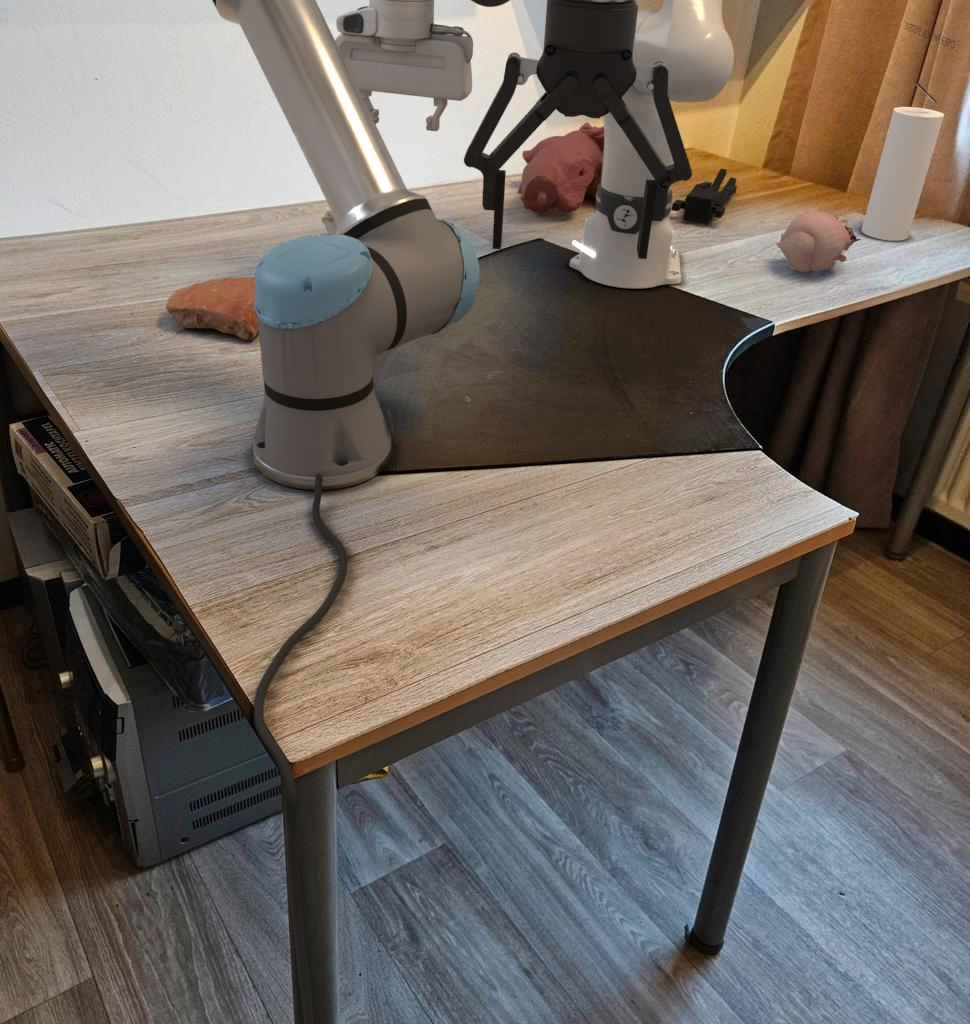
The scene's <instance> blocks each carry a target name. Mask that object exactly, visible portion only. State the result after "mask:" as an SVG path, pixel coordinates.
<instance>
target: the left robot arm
mask: <svg viewBox="0 0 970 1024" xmlns="http://www.w3.org/2000/svg"><path fill="white" fill-rule="evenodd" d="M211 1H212V3H213V5H214V7H215V9H216V11H217V13H218V15H219V16H220V17H221V18H222V19H223V20H225V21H227V22H230V23H233V24H237V25H239V26H240V28H241V30H242V32H243V34H244V37H245V38H246V41H247V42H248V44H249V47H250V48H251V50H252V52H253V54H254V56H255V59H256V60H257V63H258V65H259V66H260V69H261V71H262V73H263V75H264V77H265V78H266V79H265V80H266V81H267V83H268V85H269V87H270V89H271V91H272V93H273V95H274V97H275V99H276V101H277V103H278V106H279V107H280V110H281V111H282V113H283V115H284V117H285V119H286V122H287V124H288V125H289V127H290V129H291V131H292V133H293V136H294V137H295V139H296V142H297V144H298V146H299V147H300V150H301V151H302V154H303V156H304V158H305V160H306V162H307V164H308V165H309V168H310V170H311V172H312V174H313V176H314V178H315V180H316V182H317V183H318V187H319V188H320V191H321V192H322V194H323V197H324V198H325V201H326V202H327V205H328V206H329V208H330V211H332V212H333V214H334V217H335V219H336V221H337V223H338V229H337V232H336V234H328V233H321V234H320V235H317V236H313V235H304V236H300V237H295V238H293V239H290V240H287V241H285V242H282V243H280V244H278V245H276V246H275V247H273V248H271V249H269V251H267V253H265V254H264V255H263V256H262V257H261V259H260V260H259V261H258V264H257V267H256V270H255V274H254V275H255V276H254V278H255V300H254V307H255V311H256V314H257V317H258V328H259V332H258V337H259V348H260V357H261V358H260V359H261V369H262V379H263V388H264V390H263V391H264V396H263V400H262V404H261V408H260V412H259V415H258V419H257V423H256V427H255V430H254V434H253V439H252V455H253V460H254V464H255V467H256V468H257V470H258V471H259V472H260V473H261V474H262V475H263V476H265V477H266V478H268V479H269V480H271V481H273V482H275V483H278V484H280V485H283V486H286V487H290V488H295V489H301V490H312V491H313V492H314V493H313V501H312V508H311V515H312V519H313V523H314V525H315V526H316V528H317V530H318V531H319V532H320V533H321V534H322V535H323V537H324V538H325V539H327V541H329V543H330V544H332V546H333V547H334V548H335V550H336V552H337V555H338V562H339V563H338V564H339V565H338V571H337V576H336V578H335V581H334V583H333V584H332V587H331V589H330V591H329V592H328V593H327V595H326V597H325V599H324V600H323V602H322V604H321V605H320V607H318V609H317V610H316V611H315V612H314V614H312V615H311V616H310V617H309V618H308V619H307V620H306V621H305V622H304V623H303V624H302V625H300V627H298V628H297V629H296V630H295V631H294V632H293V633H292V634H291V635H290V636H289V637H288V638H287V640H286V641H285V642H284V644H282V646H281V647H280V649H279V650H278V652H277V653H276V655H275V656H274V658H273V659H272V661H271V662H270V664H269V665H268V667H267V669H266V670H265V672H264V674H263V676H262V678H261V680H260V682H259V684H258V687H257V690H256V693H255V697H254V703H253V722H254V727H255V729H256V732H257V734H258V737H259V738H260V740H261V741H262V742H263V744H264V745H265V747H266V748H267V750H268V751H269V753H270V754H271V755H272V757H273V759H274V760H275V762H276V763H277V767H278V769H279V771H280V774H281V777H282V781H283V785H284V789H285V795H286V799H287V801H288V802H295V801H296V800H297V799H298V792H297V791H298V790H297V786H296V782H295V777H294V773H293V770H292V767H291V765H290V762H289V760H288V758H287V755H286V754H285V752H284V751H283V749H282V748H281V746H280V745H279V744H278V742H277V741H276V740H275V738H274V737H273V736H272V734H271V733H270V731H269V729H268V728H267V724H266V721H265V716H264V707H265V701H266V695H267V692H268V689H269V687H270V685H271V682H272V681H273V679H274V677H275V675H277V674H276V673H277V672H278V671H279V669H280V668H281V665H282V664H283V662H284V661H285V659H286V658H287V656H288V654H289V653H290V652H291V650H292V649H293V648H294V646H295V645H296V644H297V643H298V642H299V641H300V640H301V639H302V638H303V637H304V636H305V635H306V634H307V633H309V631H310V630H311V629H313V627H315V626H316V624H318V623H319V622H320V621H321V620H322V619H323V618H324V616H326V614H327V613H328V611H329V610H330V609H331V607H332V606H333V604H334V603H335V601H336V599H337V597H338V595H339V593H340V592H341V590H342V588H343V585H344V583H345V580H346V578H347V577H346V576H347V570H348V556H347V552H346V548H345V546H344V545H343V543H342V542H341V541H340V540H339V538H337V537H336V536H335V534H333V532H332V531H330V529H328V528H327V526H326V525H325V523H324V521H323V520H322V517H321V513H320V509H321V503H322V502H321V501H322V492H323V490H327V491H328V490H337V489H342V488H348V487H351V486H355V485H358V484H361V483H363V482H366V481H368V480H370V479H373V478H374V477H375V476H377V475H378V474H380V473H381V472H382V471H383V470H384V469H385V468H386V467H387V466H388V464H389V463H390V461H391V458H392V437H391V432H392V433H394V422H393V417H392V415H391V411H390V408H389V406H387V418H388V422H389V425H390V429H391V432H390V430H389V427H388V424H387V422H386V419H385V417H384V413H383V411H382V408H381V406H380V403H379V400H378V398H377V395H376V393H375V385H374V358H375V356H378V355H381V354H383V353H385V352H388V351H391V350H394V349H395V348H398V347H400V346H403V345H406V344H407V343H411V342H413V341H415V340H418V339H420V338H422V337H425V336H427V335H435V334H439V333H440V332H441V331H443V330H444V329H447V328H448V327H449V326H451V325H453V324H456V323H457V322H459V321H460V320H462V319H463V318H464V317H465V316H467V314H468V313H469V311H470V310H471V309H472V307H473V306H474V304H475V301H476V298H477V295H478V294H477V289H478V287H480V274H481V273H480V264H479V263H480V262H479V258H478V255H477V251H476V248H475V246H474V244H473V241H472V240H471V238H470V237H469V235H468V234H467V232H466V231H465V230H464V229H463V228H462V227H461V226H460V225H455V223H454V222H453V221H450V220H447V219H439V218H437V217H436V215H435V213H434V211H433V208H432V207H431V204H430V203H429V201H428V199H427V197H426V196H425V195H422V194H419V193H416V192H414V191H411V190H409V189H408V188H407V186H406V185H405V181H404V180H403V179H402V176H401V174H400V172H399V170H398V168H397V165H396V163H395V162H394V160H393V157H392V155H391V153H390V152H389V149H388V147H387V145H386V143H385V141H384V139H383V137H382V134H381V132H380V131H379V129H378V127H377V123H376V124H375V122H374V120H373V118H372V116H371V114H370V112H369V110H368V108H367V106H366V104H365V102H364V99H363V97H362V95H361V93H360V91H359V89H358V87H357V85H356V83H355V81H354V79H353V77H352V75H351V73H350V71H349V68H348V66H347V64H346V62H345V60H344V58H343V56H342V54H341V52H340V50H339V48H338V46H337V44H336V42H335V40H336V39H335V37H334V35H333V33H332V32H331V30H330V27H329V25H328V23H327V21H326V19H325V17H324V15H323V13H322V10H321V9H320V6H319V4H318V3H317V0H211ZM638 9H639V5H638V4H637V1H636V0H546V11H545V25H544V39H543V49H542V50H543V51H542V53H541V56H540V58H539V59H534V58H529V57H523V56H521V55H520V54H519V53H518V52H511V53H509V55H508V56H507V59H506V62H505V67H504V73H503V80H502V83H501V84H500V86H499V88H498V90H497V92H496V94H495V95H494V98H493V100H492V101H491V104H490V105H489V107H488V109H487V111H486V113H485V115H484V117H483V119H482V120H481V123H479V124H480V125H479V126H478V127H477V130H476V132H475V134H474V136H473V137H472V140H471V141H470V143H469V145H468V147H467V149H466V150H465V154H464V157H463V164H464V165H465V166H466V167H467V168H473V169H475V170H478V171H479V172H480V173H481V174H482V179H483V181H482V201H481V203H482V204H481V205H482V207H483V210H484V211H493V227H492V228H493V229H492V250H501V248H502V244H503V243H502V242H503V228H504V212H505V211H504V210H505V194H506V193H505V192H506V176H507V175H506V173H507V171H506V169H502V167H503V166H504V165H505V164H506V163H507V162H508V161H509V160H510V158H511V157H512V156H513V155H514V154H515V153H516V152H517V151H518V150H519V149H520V148H521V147H522V146H523V145H524V143H525V142H526V141H527V140H528V139H530V137H531V136H532V134H534V132H535V131H536V130H537V129H538V128H539V127H540V126H541V125H542V124H543V123H544V122H545V121H546V120H547V119H548V118H550V116H551V115H552V114H553V113H554V112H555V111H556V112H558V113H560V114H561V115H563V117H566V118H568V117H569V118H575V117H579V116H583V117H587V118H590V119H599V120H600V119H601V118H602V116H605V115H607V114H608V113H609V112H610V113H611V114H612V116H613V117H614V119H615V120H616V122H617V123H618V125H619V126H620V127H621V129H622V130H623V132H624V133H625V135H626V136H627V138H628V139H629V141H630V142H631V144H632V145H633V147H634V148H635V150H636V151H637V153H638V155H639V156H640V158H641V159H642V161H643V162H644V164H645V165H646V167H647V168H648V170H649V171H650V173H651V174H652V176H653V177H654V179H655V181H654V180H649V179H646V184H645V191H644V198H643V206H642V213H641V220H640V228H639V235H638V243H637V254H638V259H647V252H648V245H649V238H650V231H651V224H652V221H662V220H663V218H664V216H665V210H666V204H667V197H668V190H669V187H670V186H671V187H672V185H673V184H675V183H678V182H681V181H683V182H686V181H689V180H690V179H691V178H692V176H693V170H692V167H691V164H690V161H689V157H688V155H687V151H686V148H685V146H684V145H685V144H684V142H683V138H682V136H681V132H680V129H679V126H678V123H677V120H676V117H675V113H674V111H673V107H672V104H671V101H670V100H669V98H668V70H667V68H666V66H665V64H664V63H663V62H661V61H658V62H655V63H654V64H653V65H644V66H635V65H634V63H633V48H634V39H635V31H636V22H637V14H638ZM533 75H535V76H536V77H537V79H538V81H539V83H540V84H541V86H542V88H543V90H544V93H543V94H542V95H541V96H540V97H539V99H537V101H536V102H535V104H534V105H533V106H532V107H531V108H530V109H529V110H528V112H527V113H525V115H524V116H523V117H522V119H520V121H518V123H517V124H516V125H515V126H514V127H513V129H511V130H510V132H509V133H508V134H507V135H506V136H505V137H504V138H503V139H502V140H501V142H500V143H499V144H498V145H497V146H496V147H495V148H494V149H493V150H492V152H491V153H489V154H487V153H485V152H484V151H485V149H486V147H487V145H488V143H489V141H490V140H491V137H492V136H493V134H494V132H495V130H496V128H497V126H498V125H499V123H500V121H501V119H502V117H503V116H504V114H505V111H506V110H507V108H508V107H509V104H510V102H511V100H512V98H513V97H514V94H515V92H516V89H517V87H518V86H523V85H525V84H527V82H528V80H529V78H530V77H531V76H533ZM635 80H637V81H640V82H641V83H642V84H643V88H644V90H645V91H646V92H647V93H652V96H653V100H654V103H655V106H656V109H657V112H658V115H659V119H660V122H661V125H662V128H663V131H664V134H665V137H666V140H667V143H668V146H669V149H670V152H671V155H672V158H673V162H674V164H672V165H669V166H665V165H664V163H663V162H662V160H661V158H660V157H659V155H658V154H657V152H656V151H655V149H654V148H653V146H652V145H651V143H650V141H649V140H648V138H647V137H646V135H645V134H644V132H643V131H642V129H641V127H640V126H639V124H638V123H637V121H636V120H635V118H634V117H633V115H632V114H631V112H630V110H629V108H628V107H627V105H626V104H625V102H624V100H623V99H622V97H623V96H624V94H625V93H626V92H627V91H628V90H629V88H630V87H631V86H632V85H633V83H634V82H635ZM286 832H287V833H286V852H287V853H286V854H287V867H288V869H287V870H288V881H289V893H290V894H289V895H290V905H291V917H292V928H293V937H294V945H295V955H296V965H297V972H298V980H299V988H300V989H299V990H300V997H301V1005H302V1013H303V1023H304V1024H315V1023H314V1014H313V1003H312V995H311V987H310V977H309V967H308V959H307V949H306V939H305V930H304V918H303V917H304V916H303V906H302V905H303V904H302V893H301V880H300V865H299V849H298V846H299V844H298V843H299V841H298V840H299V827H298V826H295V825H294V824H293V825H292V824H289V823H287V831H286Z"/></svg>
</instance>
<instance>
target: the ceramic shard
mask: <svg viewBox="0 0 970 1024" xmlns="http://www.w3.org/2000/svg"><path fill="white" fill-rule="evenodd" d="M254 300H255V277H221V278H217V279H216V278H215V279H211V280H206V281H204V282H198V283H194V284H191V285H188V286H186V287H182V288H180V289H177V290H176V291H175V292H174V293H173V294H171V295H170V296H169V298H168V299H167V302H166V304H165V308H166V311H167V312H168V313H169V314H170V315H172V317H174V319H175V321H176V323H177V324H178V325H179V327H181V328H183V329H213V330H217V331H219V332H221V333H223V334H230V335H233V336H237V337H238V338H240V339H242V340H246V341H251V340H252V341H253V339H255V338H256V336H257V334H259V328H258V317H257V314H256V311H255V307H254Z"/></svg>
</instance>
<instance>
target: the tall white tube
mask: <svg viewBox="0 0 970 1024" xmlns="http://www.w3.org/2000/svg"><path fill="white" fill-rule="evenodd" d="M904 30H905V31H907V32H910V33H912V32H913V34H915V33H916V34H917V35H918V36H921V37H923V38H924V37H925V39H928V40H930V41H931V40H932V41H933V42H937V40H938V44H939V43H940V44H942V45H943V46H946V47H947V48H948V47H949V49H950V48H951V49H952V50H953V49H954V48H955V45H956V40H954V39H951V38H948V37H946V36H942V37H941V34H938V35H937V33H934V32H933V31H931V30H926V29H923V34H921V31H922V27H920V26H918V25H915V24H912V23H909V22H908V21H907V22H905V26H904ZM927 33H928V35H927ZM940 37H941V38H940ZM940 39H941V42H940ZM945 39H946V40H945ZM944 42H945V43H944ZM952 43H954V44H953V46H952ZM913 84H914V85H915V86H916V87H917V88H919V90H920V91H921V92H922V95H923V96H924V97H926V98H928V99H929V100H930V101H931V102H932V103H934V104H937V103H938V101H937V100H936V99H935V98H934V97H932V95H931V94H930V93H929V92H928V91H927V90H926V89H925V88H924V87H923V86H922V85H921V84H920V83H919V82H918V81H915V80H914V82H913ZM944 117H945V114H944V113H943V112H940V111H937V110H936V109H935V110H934V109H929V108H924V107H915V106H914V107H913V106H897V107H894V108H893V110H892V114H891V118H890V122H889V126H888V129H887V133H886V137H885V140H884V145H883V148H882V151H881V155H880V159H879V163H878V166H877V170H876V174H875V177H874V182H873V185H872V189H871V193H870V196H869V201H868V203H867V208H866V212H865V215H864V220H863V222H862V227H861V232H862V233H863V234H864V235H866V236H868V237H871V238H873V239H878V240H884V241H893V242H895V241H897V242H898V241H899V242H900V241H905V240H907V239H909V236H910V233H911V229H912V226H913V222H914V219H915V215H916V211H917V210H918V209H917V208H918V206H919V202H920V198H921V195H922V191H923V188H924V184H925V182H926V178H927V175H928V171H929V169H930V165H931V161H932V158H933V155H934V151H935V148H936V145H937V142H938V141H937V140H938V138H939V134H940V130H941V127H942V124H943V121H944Z"/></svg>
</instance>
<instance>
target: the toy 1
mask: <svg viewBox="0 0 970 1024" xmlns="http://www.w3.org/2000/svg"><path fill="white" fill-rule="evenodd" d="M727 171H728V170H727V169H726V168H720V169H719V171H718V173H717V175H716V177H715V178H714V180H713V182H710V181H704V182H700V183H697V184H695V185H694V187H693V188H692V190H691V191H690V192H688V193H687V195H686V197H685V198H684V200H683V199H676V200H674V201H673V202H672V205H671V211H673V212H680V210H683V216H682V221H683V222H687V223H693V224H699V225H706V226H707V225H709V223H711V221H712V220H713V218H716V219H722V217H723V216H724V215H725V212H726V204H727V203H728V201H729V199H730V198H731V197H732V196H734V195H735V194H736V193H737V188H738V185H736V182H737V177H732V176H731V177H730V178H729V179H728V180H727V182H726V183H725V185H724V187H723V188H722V190H719V189H720V188H721V186H722V184H723V181H724V180H725V178H726V176H727Z"/></svg>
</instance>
